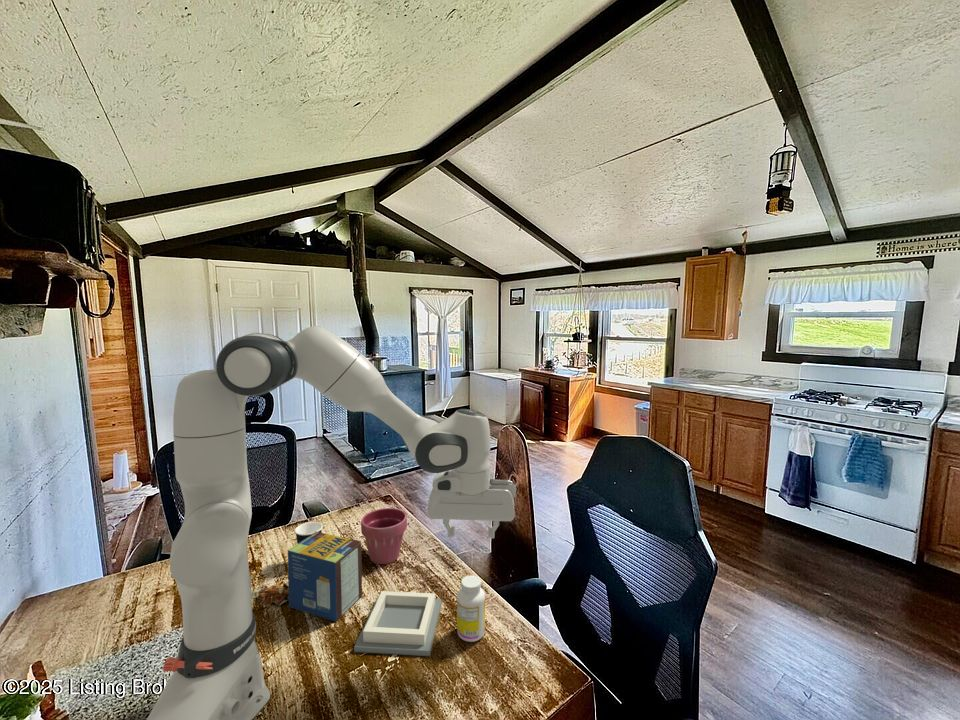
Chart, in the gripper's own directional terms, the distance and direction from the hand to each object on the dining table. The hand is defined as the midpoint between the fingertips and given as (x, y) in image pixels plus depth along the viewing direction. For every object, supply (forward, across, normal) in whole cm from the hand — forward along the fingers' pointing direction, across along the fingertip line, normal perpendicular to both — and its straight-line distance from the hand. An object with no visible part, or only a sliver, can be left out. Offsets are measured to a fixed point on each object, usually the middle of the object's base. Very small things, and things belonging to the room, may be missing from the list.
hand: (471, 536), depth 93 cm
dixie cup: (+24, +52, -25) cm, 62 cm away
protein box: (+24, +39, -8) cm, 46 cm away
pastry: (+24, +55, -9) cm, 60 cm away
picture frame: (+24, +17, -1) cm, 29 cm away
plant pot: (+24, +30, -30) cm, 49 cm away
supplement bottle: (+24, 0, 0) cm, 24 cm away
